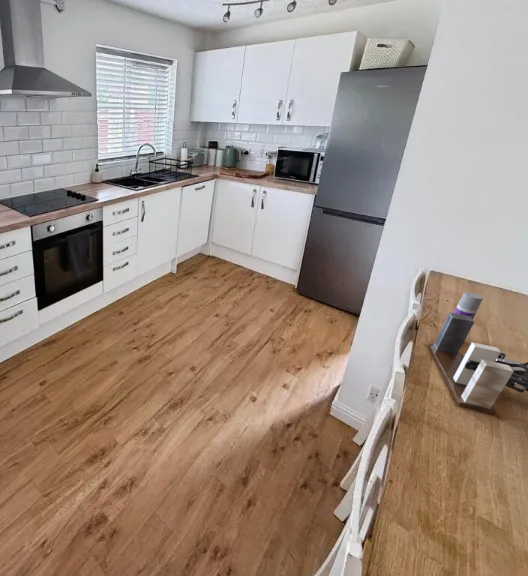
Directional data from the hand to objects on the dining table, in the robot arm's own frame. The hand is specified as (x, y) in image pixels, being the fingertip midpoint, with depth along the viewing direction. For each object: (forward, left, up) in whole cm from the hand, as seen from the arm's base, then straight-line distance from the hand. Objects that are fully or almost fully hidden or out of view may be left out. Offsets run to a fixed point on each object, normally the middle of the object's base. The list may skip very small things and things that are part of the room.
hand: (464, 361), depth 91 cm
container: (-7, -27, -8) cm, 29 cm away
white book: (-2, 0, -6) cm, 6 cm away
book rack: (-2, -5, -7) cm, 9 cm away
